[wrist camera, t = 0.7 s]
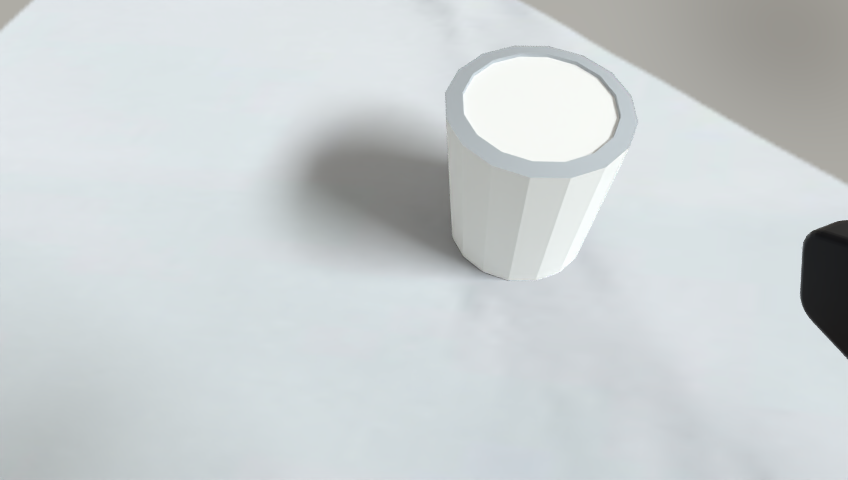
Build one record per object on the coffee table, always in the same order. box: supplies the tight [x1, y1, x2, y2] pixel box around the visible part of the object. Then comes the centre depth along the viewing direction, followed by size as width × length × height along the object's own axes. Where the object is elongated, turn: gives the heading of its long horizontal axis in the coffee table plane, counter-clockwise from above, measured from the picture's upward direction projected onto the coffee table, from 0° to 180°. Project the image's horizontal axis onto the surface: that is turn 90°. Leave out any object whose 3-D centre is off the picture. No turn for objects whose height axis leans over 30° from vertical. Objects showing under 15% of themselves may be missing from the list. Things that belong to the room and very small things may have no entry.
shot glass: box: [445, 46, 638, 281], centre depth 30 cm, size 7×7×7 cm
